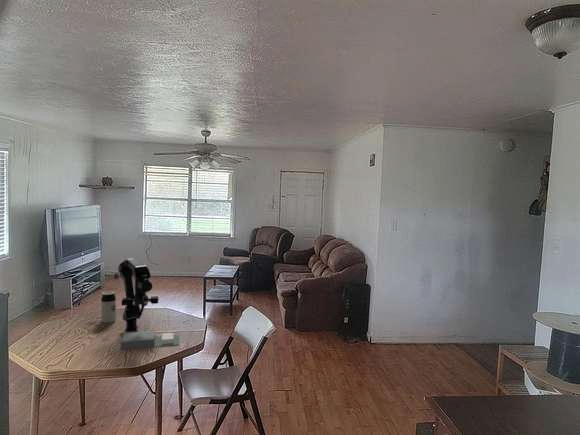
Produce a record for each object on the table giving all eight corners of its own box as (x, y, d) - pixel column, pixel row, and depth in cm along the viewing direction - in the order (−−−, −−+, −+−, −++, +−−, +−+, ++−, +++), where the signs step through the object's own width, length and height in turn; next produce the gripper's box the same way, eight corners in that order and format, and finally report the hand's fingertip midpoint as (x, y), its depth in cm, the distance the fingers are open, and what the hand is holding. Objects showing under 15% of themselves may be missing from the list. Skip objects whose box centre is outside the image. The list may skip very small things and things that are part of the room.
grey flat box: (124, 340, 205) (124, 333, 205) (155, 337, 210) (155, 330, 210) (120, 349, 193) (120, 342, 193) (154, 346, 198) (154, 339, 197)
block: (173, 332, 211) (173, 336, 211) (162, 333, 209) (162, 337, 209) (173, 338, 202) (173, 343, 202) (161, 339, 200) (161, 344, 201)
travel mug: (98, 321, 233) (98, 293, 232) (110, 318, 240) (109, 290, 239) (107, 324, 230) (107, 294, 229) (118, 320, 237) (118, 292, 236)
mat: (156, 337, 211) (156, 336, 211) (178, 335, 214) (178, 334, 214) (155, 347, 197) (155, 346, 197) (179, 345, 201) (179, 344, 201)
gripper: (120, 292, 199) (120, 321, 199) (157, 290, 204) (157, 319, 205) (122, 287, 209) (122, 315, 210) (158, 286, 215) (158, 313, 216)
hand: (140, 315), depth 210 cm, fingers closed
